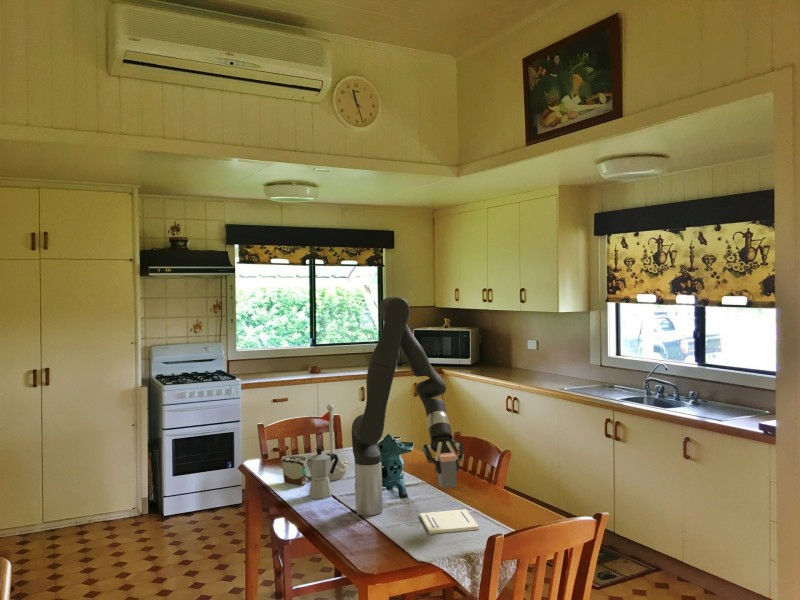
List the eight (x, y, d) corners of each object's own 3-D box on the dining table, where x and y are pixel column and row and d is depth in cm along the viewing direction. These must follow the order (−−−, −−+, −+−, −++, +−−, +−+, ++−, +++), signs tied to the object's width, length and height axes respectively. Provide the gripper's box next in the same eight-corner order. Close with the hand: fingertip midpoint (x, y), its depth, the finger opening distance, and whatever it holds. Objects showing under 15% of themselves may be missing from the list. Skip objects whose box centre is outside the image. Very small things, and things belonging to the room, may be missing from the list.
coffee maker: (313, 502, 242) (311, 453, 242) (299, 497, 249) (298, 449, 248) (346, 492, 252) (344, 445, 252) (332, 487, 259) (330, 441, 258)
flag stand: (334, 470, 283) (332, 399, 282) (355, 475, 274) (352, 403, 273) (310, 477, 274) (307, 404, 273) (330, 483, 265) (327, 408, 264)
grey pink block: (441, 487, 215) (440, 457, 215) (438, 483, 220) (437, 453, 220) (456, 486, 216) (455, 456, 216) (453, 482, 221) (452, 452, 221)
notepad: (429, 533, 209) (429, 530, 209) (419, 516, 225) (419, 513, 225) (479, 529, 212) (478, 526, 212) (465, 512, 228) (465, 509, 228)
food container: (315, 482, 266) (314, 457, 266) (305, 487, 261) (304, 461, 261) (291, 478, 273) (290, 454, 273) (281, 482, 268) (280, 457, 267)
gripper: (419, 423, 224) (428, 468, 212) (461, 420, 226) (472, 465, 214) (417, 435, 229) (425, 480, 218) (458, 432, 231) (468, 476, 220)
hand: (448, 472), depth 216 cm, fingers closed on grey pink block, 5 cm apart
